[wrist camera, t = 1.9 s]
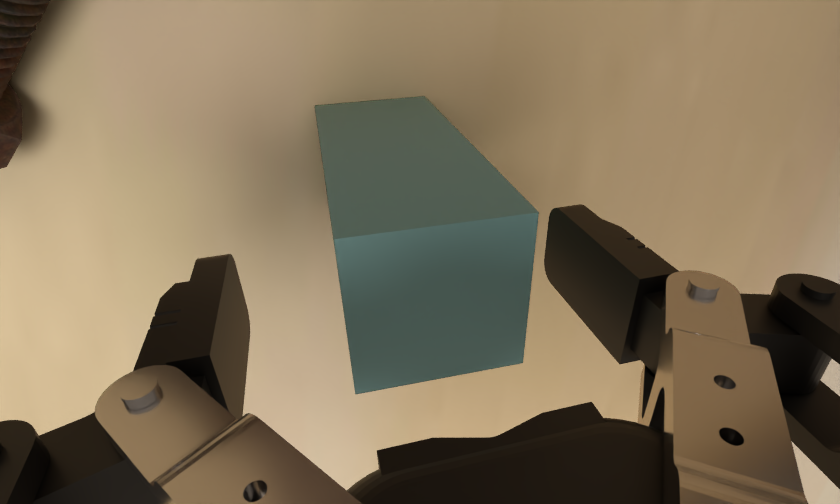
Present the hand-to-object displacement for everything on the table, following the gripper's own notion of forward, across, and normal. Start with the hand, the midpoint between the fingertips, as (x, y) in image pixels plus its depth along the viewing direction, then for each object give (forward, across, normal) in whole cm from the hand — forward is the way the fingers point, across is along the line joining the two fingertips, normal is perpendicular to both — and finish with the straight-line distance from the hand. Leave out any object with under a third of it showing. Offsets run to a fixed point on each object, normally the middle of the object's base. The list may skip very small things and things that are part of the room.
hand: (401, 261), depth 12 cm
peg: (+8, 0, 0) cm, 8 cm away
